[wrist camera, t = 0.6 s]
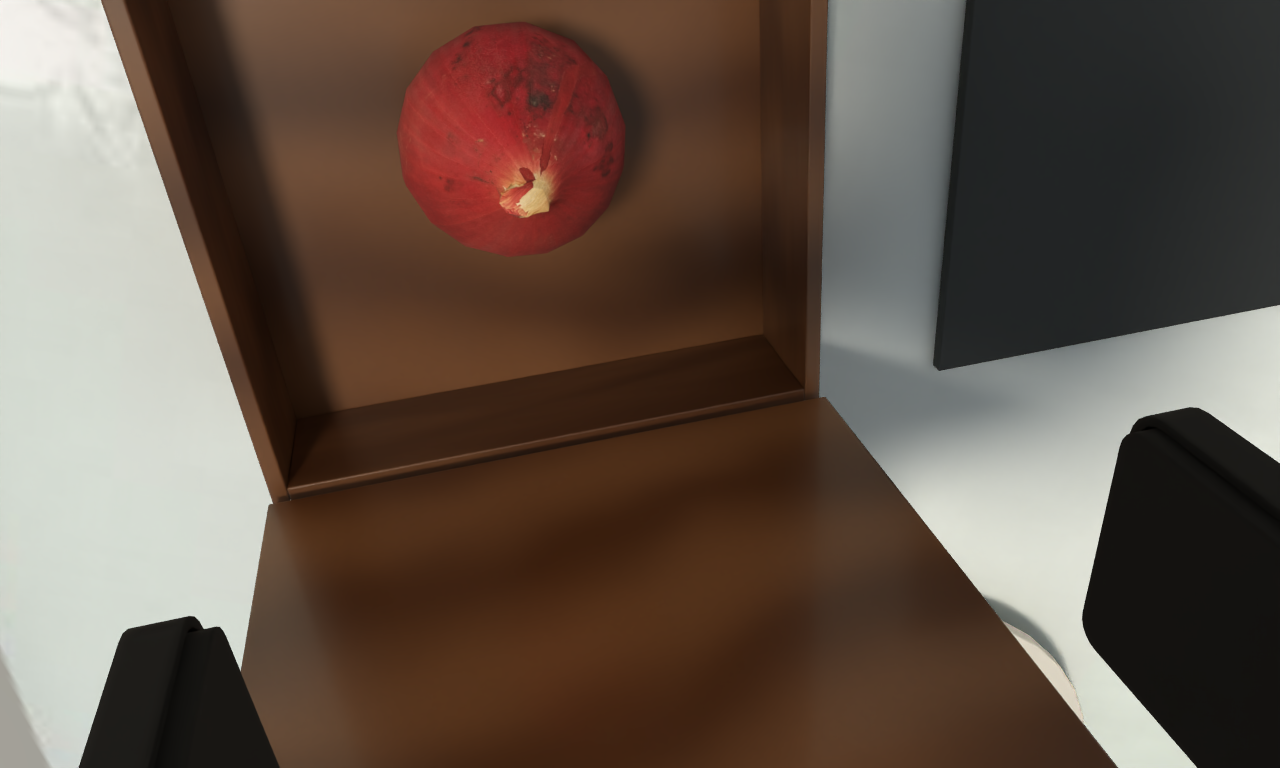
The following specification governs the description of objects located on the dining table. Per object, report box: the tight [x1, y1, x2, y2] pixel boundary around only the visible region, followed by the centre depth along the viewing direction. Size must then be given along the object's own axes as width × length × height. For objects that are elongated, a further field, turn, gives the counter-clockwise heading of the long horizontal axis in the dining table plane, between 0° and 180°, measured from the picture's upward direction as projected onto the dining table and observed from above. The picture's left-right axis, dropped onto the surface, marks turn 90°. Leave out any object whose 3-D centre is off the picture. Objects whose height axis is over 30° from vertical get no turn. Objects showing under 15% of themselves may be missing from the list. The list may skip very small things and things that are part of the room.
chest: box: [101, 0, 828, 504], centre depth 27 cm, size 19×17×4 cm
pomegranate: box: [397, 22, 625, 257], centre depth 25 cm, size 6×6×8 cm
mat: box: [933, 0, 1280, 371], centre depth 33 cm, size 20×20×1 cm
